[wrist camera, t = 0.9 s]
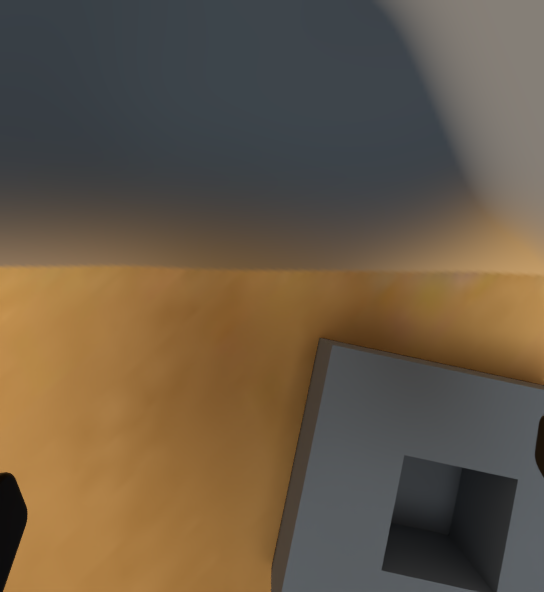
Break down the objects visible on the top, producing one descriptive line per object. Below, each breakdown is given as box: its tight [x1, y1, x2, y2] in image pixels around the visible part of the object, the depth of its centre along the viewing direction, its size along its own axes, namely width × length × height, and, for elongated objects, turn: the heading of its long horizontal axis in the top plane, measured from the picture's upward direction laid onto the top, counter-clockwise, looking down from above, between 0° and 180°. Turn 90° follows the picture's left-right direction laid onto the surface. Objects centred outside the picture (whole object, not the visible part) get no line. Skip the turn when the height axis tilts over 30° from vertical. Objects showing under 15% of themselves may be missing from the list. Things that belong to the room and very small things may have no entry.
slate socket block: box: [271, 338, 544, 592], centre depth 21 cm, size 13×13×6 cm
